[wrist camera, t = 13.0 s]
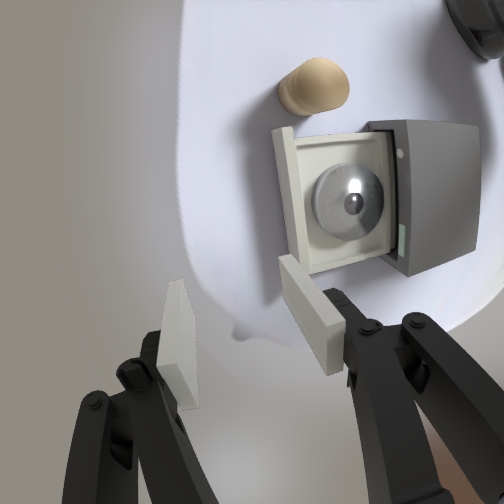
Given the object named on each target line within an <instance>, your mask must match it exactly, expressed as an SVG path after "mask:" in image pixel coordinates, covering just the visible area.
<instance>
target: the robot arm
mask: <svg viewBox="0 0 504 504" xmlns="http://www.w3.org/2000/svg"><path fill="white" fill-rule="evenodd" d="M446 2H447V6H448V9H449V12H450V14H451V17H452V19H453V21H454V23H455V25H456V27H457V29H458V30H459V32H460V34H461V35H462V37H463V38H464V40H465V41H466V43H467V44H468V45H469V46H470V48H471V49H472V50H473V51H474V52H475V53H476V54H477V55H478V56H480V57H481V58H483V59H486V60H489V59H497V58H499V57H500V56H502V55H504V0H446ZM278 262H279V269H280V276H281V284H282V291H283V298H284V300H285V302H286V304H287V306H288V307H289V309H290V311H291V313H292V315H293V316H294V318H295V320H296V322H297V324H298V326H299V327H300V329H301V331H302V333H303V335H304V336H305V338H306V340H307V342H308V344H309V345H310V347H311V349H312V351H313V353H314V354H315V356H316V358H317V360H318V362H319V364H320V365H321V367H322V369H323V371H324V373H325V374H326V376H329V375H331V374H334V373H337V372H340V371H343V365H344V362H345V364H346V365H347V367H348V368H349V369H348V380H347V387H349V386H350V388H351V393H352V398H353V403H354V407H355V413H356V418H357V424H358V429H359V435H360V440H361V446H362V453H363V459H364V466H365V473H366V481H367V488H368V497H369V504H455V502H454V499H453V496H452V494H451V493H450V492H449V490H446V489H444V488H442V486H441V484H440V482H439V478H438V474H437V470H436V466H435V463H434V459H433V456H432V452H431V449H430V445H429V442H428V439H427V436H426V433H425V430H424V427H423V424H422V421H421V418H420V415H419V412H418V409H417V406H416V404H415V401H416V403H417V404H418V406H419V407H420V409H421V410H422V411H423V413H424V414H425V415H426V417H427V418H428V420H429V421H430V423H431V424H432V426H433V427H434V429H435V430H436V431H437V433H438V434H439V436H440V437H441V439H442V440H443V442H444V443H445V445H446V446H447V448H448V449H449V451H450V452H451V453H452V455H453V457H454V458H455V460H456V461H457V463H458V464H459V466H460V468H461V469H462V471H463V472H464V474H465V475H466V477H467V479H468V480H469V482H470V483H471V485H472V487H473V488H474V490H475V491H476V493H477V494H478V496H479V497H480V499H481V500H482V501H483V502H484V503H485V504H504V391H503V390H502V388H501V387H499V385H498V384H497V383H496V382H495V381H494V380H493V379H492V378H491V377H490V376H489V375H488V373H486V371H485V370H484V369H483V368H482V367H481V366H480V365H479V364H478V363H477V362H476V361H475V360H474V359H473V358H472V357H471V356H470V355H469V354H468V353H467V352H466V351H465V350H464V349H463V348H462V347H461V346H460V345H459V344H458V343H457V342H456V341H455V340H454V339H453V338H452V337H450V336H449V335H448V334H447V333H446V332H445V331H444V330H443V329H442V328H441V327H440V326H439V325H438V324H437V323H436V322H435V321H433V320H432V319H431V318H430V317H429V316H427V315H426V314H424V313H420V312H412V313H408V314H407V315H405V316H404V318H403V319H402V324H399V325H392V326H383V325H382V323H381V322H379V321H377V320H374V319H367V318H366V317H365V316H364V315H363V314H362V313H361V312H360V310H359V309H358V308H357V307H356V306H355V305H354V304H353V303H352V302H351V301H350V300H349V299H348V297H347V296H346V295H345V294H344V293H343V292H342V291H339V290H337V289H335V288H331V289H328V290H324V291H322V290H321V289H320V288H319V287H318V286H317V284H316V283H315V282H314V281H313V280H312V278H311V277H310V276H309V275H308V274H307V272H306V271H305V270H304V269H303V268H302V266H301V265H300V264H299V263H298V262H297V260H296V259H295V258H294V257H293V256H292V254H287V255H283V256H279V257H278ZM141 348H142V349H141V352H140V354H141V355H140V357H139V358H131V359H129V360H127V361H125V362H123V363H122V364H121V365H120V366H119V368H118V369H117V372H116V376H117V377H118V379H119V380H120V382H121V383H122V385H123V386H124V388H125V391H123V392H121V393H118V394H116V395H113V396H110V397H109V396H108V395H107V394H106V393H105V392H103V391H99V390H97V391H93V392H91V393H89V394H87V395H86V396H85V397H84V398H83V400H82V402H81V405H80V409H79V413H78V417H77V421H76V425H75V429H74V434H73V438H72V442H71V447H70V453H69V458H68V463H67V468H66V475H65V481H64V488H63V497H62V504H138V456H139V460H140V464H141V468H142V471H143V475H144V479H145V482H146V486H147V489H148V492H149V496H150V498H151V502H152V504H219V503H218V501H217V499H216V497H215V495H214V493H213V491H212V489H211V487H210V485H209V483H208V481H207V478H206V476H205V474H204V472H203V470H202V468H201V466H200V463H199V461H198V459H197V457H196V454H195V452H194V450H193V447H192V445H191V442H190V440H189V438H188V435H187V433H186V430H185V427H184V425H183V422H182V420H181V418H180V416H179V415H178V413H177V404H178V406H179V407H180V409H181V410H182V411H183V410H190V409H196V408H199V395H198V379H197V378H198V377H197V354H196V320H195V316H194V313H193V310H192V307H191V304H190V301H189V298H188V295H187V292H186V288H185V285H184V282H183V279H179V280H175V281H170V282H169V286H168V292H167V298H166V303H165V309H164V315H163V321H162V328H161V330H159V331H153V332H149V333H148V334H147V335H146V337H145V338H144V339H143V343H142V347H141ZM414 400H415V401H414Z"/></svg>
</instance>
